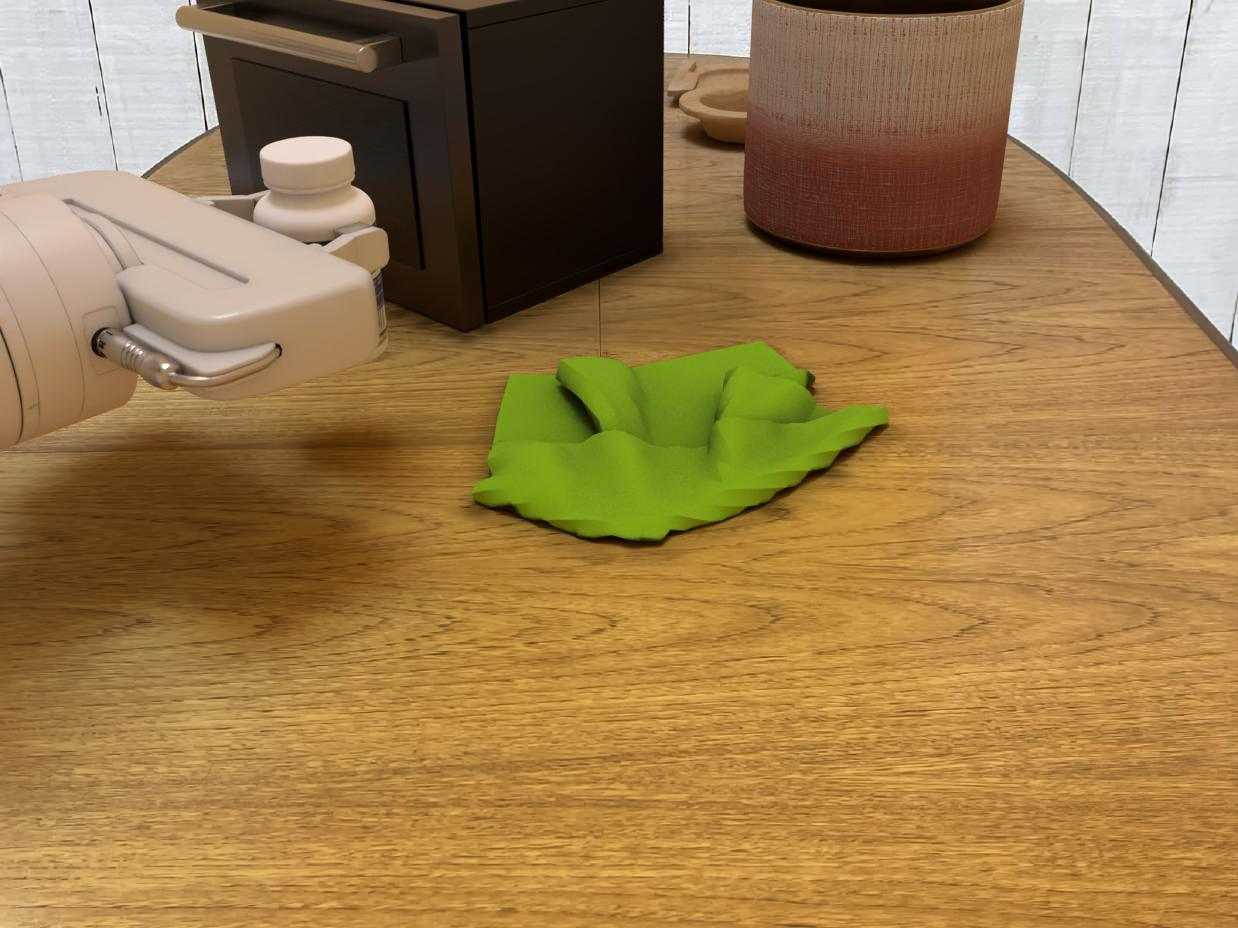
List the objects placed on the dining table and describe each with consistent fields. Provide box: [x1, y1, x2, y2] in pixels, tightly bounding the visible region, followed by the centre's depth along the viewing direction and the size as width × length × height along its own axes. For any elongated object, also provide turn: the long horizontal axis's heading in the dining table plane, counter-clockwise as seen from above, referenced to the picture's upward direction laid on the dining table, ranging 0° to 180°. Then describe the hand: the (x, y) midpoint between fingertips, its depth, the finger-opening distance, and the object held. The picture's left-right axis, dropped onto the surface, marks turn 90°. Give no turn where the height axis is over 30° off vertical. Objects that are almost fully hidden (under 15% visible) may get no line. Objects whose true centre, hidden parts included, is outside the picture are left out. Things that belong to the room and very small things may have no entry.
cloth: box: [470, 340, 890, 542], centre depth 63 cm, size 20×22×2 cm
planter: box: [742, 0, 1026, 259], centre depth 86 cm, size 18×18×16 cm
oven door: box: [174, 0, 486, 331], centre depth 76 cm, size 5×24×18 cm, turn 47°
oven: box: [382, 0, 665, 324], centre depth 83 cm, size 16×24×18 cm, turn 47°
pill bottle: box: [253, 136, 389, 370], centre depth 57 cm, size 5×5×10 cm
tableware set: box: [666, 58, 750, 145], centre depth 116 cm, size 35×29×4 cm
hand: (332, 224), depth 57 cm, fingers closed on pill bottle, 5 cm apart
